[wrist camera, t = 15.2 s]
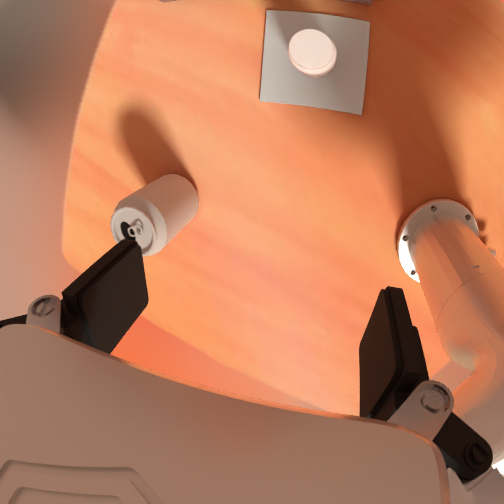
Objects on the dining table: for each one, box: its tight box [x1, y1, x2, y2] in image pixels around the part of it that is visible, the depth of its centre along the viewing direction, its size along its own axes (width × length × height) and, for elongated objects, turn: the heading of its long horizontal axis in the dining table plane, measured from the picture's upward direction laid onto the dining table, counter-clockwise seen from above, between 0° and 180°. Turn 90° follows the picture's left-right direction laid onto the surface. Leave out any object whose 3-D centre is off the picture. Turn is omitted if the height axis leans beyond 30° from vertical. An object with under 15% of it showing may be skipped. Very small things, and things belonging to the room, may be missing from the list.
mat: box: [260, 10, 370, 115], centre depth 29 cm, size 12×12×1 cm
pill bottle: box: [288, 29, 337, 78], centre depth 25 cm, size 5×5×8 cm
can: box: [111, 174, 199, 257], centre depth 37 cm, size 8×8×12 cm
